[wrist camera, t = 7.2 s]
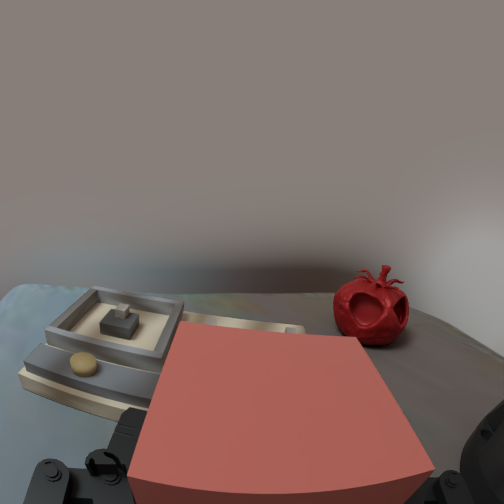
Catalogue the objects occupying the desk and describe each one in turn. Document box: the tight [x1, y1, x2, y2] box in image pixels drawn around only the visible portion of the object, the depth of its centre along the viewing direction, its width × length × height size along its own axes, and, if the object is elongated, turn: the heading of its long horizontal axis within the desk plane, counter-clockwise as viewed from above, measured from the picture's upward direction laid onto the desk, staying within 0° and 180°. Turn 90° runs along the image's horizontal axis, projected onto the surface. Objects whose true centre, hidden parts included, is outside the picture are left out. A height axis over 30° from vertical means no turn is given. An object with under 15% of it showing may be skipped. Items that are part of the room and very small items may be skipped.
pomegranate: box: [333, 265, 409, 345], centre depth 35 cm, size 10×10×9 cm
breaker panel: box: [18, 286, 306, 421], centre depth 24 cm, size 24×16×4 cm, turn 92°
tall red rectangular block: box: [127, 321, 435, 504], centre depth 9 cm, size 7×7×10 cm
